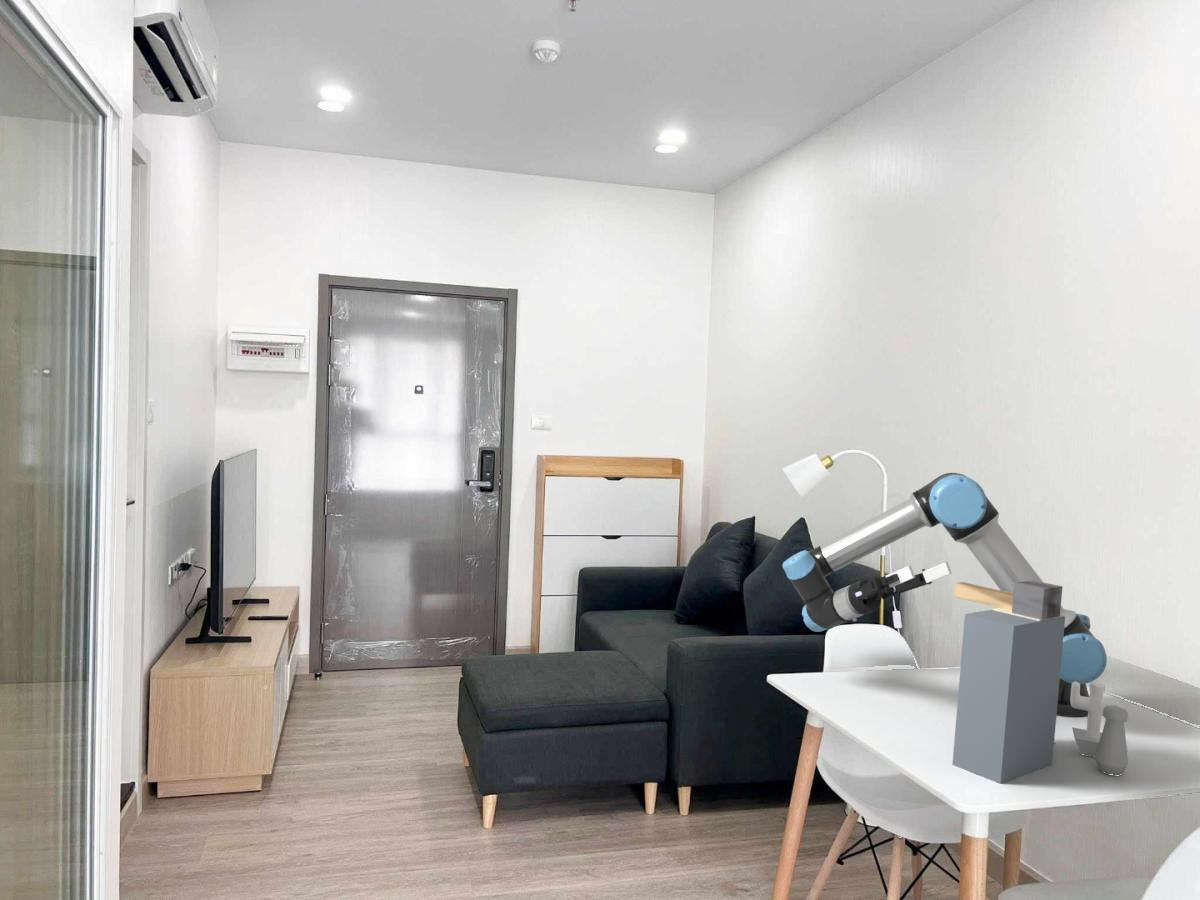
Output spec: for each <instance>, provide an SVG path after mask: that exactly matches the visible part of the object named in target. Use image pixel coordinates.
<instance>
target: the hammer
mask: <svg viewBox="0 0 1200 900" xmlns="http://www.w3.org/2000/svg"><path fill="white" fill-rule="evenodd" d="M1062 596H1063V586H1062V585H1058V584H1052V583H1048V582H1044V581H1043V582H1039V581H1034V580H1032V581H1025V582H1017V583H1014V593H1011V592H1006V591H1002V590H1000V589H997V588H992V587H988V586H982V585H978V584H973V583H969V582H964V581H962V582H955V583H954V593H953V598H955V599H961V600H964V601H968V602H972V603H973V602H974V603H977V604H982V605H986V606H991V607H995V608H1002V609H1007V610H1011V611H1012V613H1014V614H1019V615H1023V616H1027V617H1031V618H1036V619H1040V620H1043V619H1049V618H1054V617H1059V616H1060V609H1061V606H1062Z"/></svg>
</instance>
